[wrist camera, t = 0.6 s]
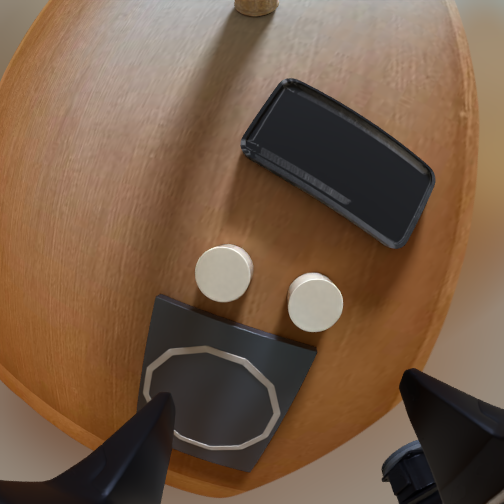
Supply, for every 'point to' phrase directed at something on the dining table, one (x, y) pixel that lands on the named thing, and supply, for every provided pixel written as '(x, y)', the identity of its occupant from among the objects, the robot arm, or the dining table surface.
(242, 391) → the slate
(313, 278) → the white round puck
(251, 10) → the sprinkles bottle
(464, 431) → the robot arm
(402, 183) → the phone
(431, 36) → the dining table surface
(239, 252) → the cream round box
